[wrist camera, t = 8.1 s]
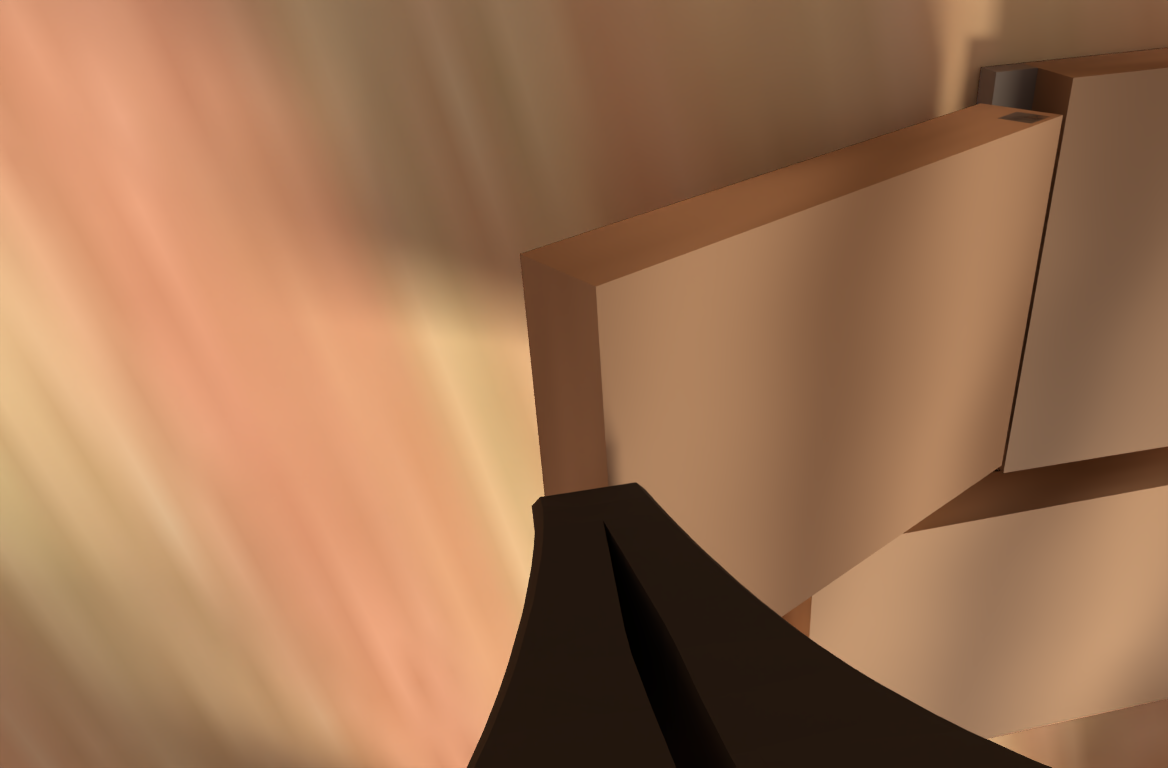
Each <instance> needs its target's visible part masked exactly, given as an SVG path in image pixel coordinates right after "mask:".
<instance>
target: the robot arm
mask: <svg viewBox="0 0 1168 768" xmlns="http://www.w3.org/2000/svg"><path fill="white" fill-rule="evenodd" d="M532 512H533V521H534V530H535V538H534V550H533V559H532V567H531V573H530V578H529V583H528V588H527V593H526V599H525V604H524V609H523V613H522V617H521V621H520V624H519V628H518V631H517V635H516V638H515V642H514V645H513V649H512V652H511V656H510V659H509V663H508V666H507V669H506V672H505V675H504V678H503V681H502V684H501V687H500V690H499V692H498V695H497V698H496V700H495V703H494V706H493V708H492V711H491V713H490V716H489V718H488V721H487V723H486V726H485V728H484V731H483V733H482V735H481V738H480V740H479V742H478V744H477V746H476V749H475V751H474V753H473V755H472V758H471V760H470V762H469V764H468V766H467V768H1052V767H1049V766H1046V765H1044V764H1041V763H1039V762H1036V761H1034V760H1032V759H1029V758H1027V757H1025V756H1022V755H1020V754H1018V753H1016V752H1014V751H1011V750H1009V749H1007V748H1005V747H1003V746H1001V745H998V744H996V743H994V742H992V741H990V740H987V739H985V738H983V737H981V736H979V735H977V734H974V733H972V732H970V731H968V730H966V729H964V728H962V727H960V726H958V725H956V724H954V723H952V722H950V721H948V720H946V719H944V718H942V717H940V716H938V715H936V714H934V713H932V712H930V711H928V710H927V709H925V708H923V707H921V706H919V705H918V704H916V703H914V702H912V701H910V700H909V699H907V698H905V697H903V696H901V695H900V694H898V693H896V692H894V691H892V690H890V689H889V688H887V687H885V686H883V685H881V684H880V683H878V682H876V681H875V680H873V679H871V678H870V677H868V676H866V675H865V674H863V673H861V672H860V671H858V670H856V669H855V668H853V667H852V666H850V665H848V664H847V663H845V662H844V661H842V660H841V659H839V658H838V657H836V656H835V655H833V654H832V653H830V652H829V651H827V650H826V649H824V648H823V647H821V646H820V645H818V644H817V643H816V642H814V641H813V640H811V639H810V638H809V637H807V636H806V635H805V634H803V633H802V632H800V631H799V630H798V629H796V628H795V627H794V626H793V625H791V624H790V623H789V622H787V621H786V620H785V619H783V618H782V617H781V616H780V615H778V614H777V613H776V612H775V611H773V610H772V609H771V608H770V607H768V606H767V605H766V604H765V603H763V602H762V601H761V600H760V599H758V598H757V597H756V596H755V595H754V594H752V593H751V592H750V591H749V590H748V589H747V588H745V587H744V586H743V585H742V584H741V583H739V582H738V581H737V580H736V579H735V578H734V577H733V576H732V575H731V574H729V573H728V572H727V571H726V570H725V569H724V568H723V567H722V566H721V565H720V564H718V563H717V562H716V561H715V560H714V559H713V558H712V557H711V556H710V555H709V554H707V553H706V552H705V551H704V550H703V549H702V548H701V547H700V546H699V545H698V544H697V543H696V542H695V541H694V540H693V539H692V538H691V537H690V536H689V535H688V534H687V533H686V532H685V531H684V530H683V529H682V528H681V527H680V526H679V525H678V524H677V523H676V522H675V521H674V520H673V519H672V518H671V517H670V516H669V515H668V514H667V513H666V511H665V510H664V509H663V508H662V507H661V506H660V505H659V504H658V503H657V502H656V501H655V500H654V498H653V497H652V496H651V495H650V494H649V493H648V492H647V491H646V489H644V488H643V487H642V486H641V485H639V484H638V483H637V482H634V483H627V484H621V485H614V486H608V487H602V488H595V489H589V490H582V491H576V492H569V493H563V494H556V495H550V496H544V497H540V498H539V499H538V500H537V501H536V502H535V503H534V504H533V505H532Z"/></svg>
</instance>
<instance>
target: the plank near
mask: <svg viewBox="0 0 1168 768" xmlns="http://www.w3.org/2000/svg"><path fill="white" fill-rule="evenodd" d="M1062 117H1063V115H1059V114H1052V113H1045V112H1038V111H1031V110H1024V109H1017V108H1010V107H1003V106H996V105H989V104H982V103H980V104H977V105H974V106H971V107H968V108H965V109H962V110H959V111H956V112H953V113H950V114H947V115H943V116H940V117H937V118H934V119H931V120H928V121H925V122H922V123H919V124H916V125H913V126H910V127H907V128H904V129H901V130H898V131H895V132H891V133H888V134H885V135H882V136H879V137H876V138H873V139H870V140H867V141H864V142H861V143H858V144H855V145H852V146H849V147H846V148H843V149H839V150H836V151H833V152H830V153H827V154H824V155H821V156H818V157H815V158H812V159H809V160H806V161H803V162H800V163H797V164H794V165H791V166H788V167H784V168H781V169H778V170H775V171H772V172H769V173H766V174H763V175H760V176H757V177H754V178H751V179H748V180H745V181H742V182H739V183H736V184H732V185H729V186H726V187H723V188H720V189H717V190H714V191H711V192H708V193H705V194H702V195H699V196H696V197H693V198H690V199H687V200H684V201H680V202H677V203H674V204H671V205H668V206H665V207H662V208H659V209H656V210H653V211H650V212H647V213H644V214H641V215H638V216H635V217H632V218H629V219H625V220H622V221H619V222H616V223H613V224H610V225H607V226H604V227H601V228H598V229H595V230H592V231H589V232H586V233H583V234H580V235H577V236H573V237H570V238H567V239H564V240H561V241H558V242H555V243H552V244H549V245H546V246H543V247H540V248H537V249H534V250H531V251H528V252H525V253H521V254H520V259H521V269H522V279H523V288H524V298H525V308H526V318H527V327H528V337H529V347H530V357H531V366H532V376H533V386H534V396H535V406H536V415H537V425H538V435H539V445H540V454H541V464H542V474H543V484H544V493H545V496H550V495H556V494H563V493H569V492H576V491H582V490H589V489H595V488H602V487H608V486H614V485H621V484H627V483H634V482H637V483H638V484H639V485H641V486H642V487H643V488H644V489H646V491H647V492H648V493H649V494H650V495H651V496H652V497H653V498H654V500H655V501H656V502H657V503H658V504H659V505H660V506H661V507H662V508H663V509H664V510H665V511H666V513H667V514H668V515H669V516H670V517H671V518H672V519H673V520H674V521H675V522H676V523H677V524H678V525H679V526H680V527H681V528H682V529H683V530H684V531H685V532H686V533H687V534H688V535H689V536H690V537H691V538H692V539H693V540H694V541H695V542H696V543H697V544H698V545H699V546H700V547H701V548H702V549H703V550H704V551H705V552H706V553H707V554H709V555H710V556H711V557H712V558H713V559H714V560H715V561H716V562H717V563H718V564H720V565H721V566H722V567H723V568H724V569H725V570H726V571H727V572H728V573H729V574H731V575H732V576H733V577H734V578H735V579H736V580H737V581H738V582H739V583H741V584H742V585H743V586H744V587H745V588H747V589H748V590H749V591H750V592H751V593H752V594H754V595H755V596H756V597H757V598H758V599H760V600H761V601H762V602H763V603H765V604H766V605H767V606H768V607H770V608H771V609H772V610H773V611H775V612H776V613H777V614H778V615H780V616H781V617H782V616H784V615H785V614H786V613H788V612H789V611H791V610H792V609H794V608H795V607H797V606H798V605H800V604H801V603H802V602H804V601H805V600H807V599H808V598H810V597H811V596H813V595H814V594H816V593H817V592H818V591H820V590H821V589H823V588H824V587H826V586H827V585H829V584H830V583H832V582H833V581H834V580H836V579H837V578H839V577H840V576H842V575H843V574H845V573H846V572H848V571H849V570H850V569H852V568H853V567H855V566H856V565H858V564H859V563H861V562H862V561H864V560H865V559H866V558H868V557H869V556H871V555H872V554H874V553H875V552H877V551H878V550H879V549H881V548H882V547H884V546H885V545H887V544H888V543H890V542H891V541H893V540H894V539H895V538H897V537H898V536H900V535H901V534H903V533H904V532H906V531H907V530H909V529H910V528H911V527H913V526H914V525H916V524H917V523H919V522H920V521H922V520H923V519H925V518H926V517H927V516H929V515H930V514H932V513H933V512H935V511H936V510H938V509H939V508H941V507H942V506H943V505H945V504H946V503H948V502H949V501H951V500H952V499H954V498H955V497H957V496H958V495H959V494H961V493H962V492H964V491H965V490H967V489H968V488H970V487H971V486H972V485H974V484H975V483H977V482H978V481H980V480H981V479H983V478H984V477H986V476H987V475H988V474H990V473H991V472H993V471H994V470H996V469H997V468H999V467H1000V466H1002V460H1003V454H1004V448H1005V443H1006V437H1007V431H1008V426H1009V420H1010V414H1011V409H1012V403H1013V397H1014V391H1015V386H1016V380H1017V374H1018V369H1019V363H1020V357H1021V351H1022V346H1023V340H1024V334H1025V329H1026V323H1027V317H1028V311H1029V306H1030V300H1031V294H1032V289H1033V283H1034V277H1035V271H1036V266H1037V260H1038V254H1039V249H1040V243H1041V237H1042V232H1043V226H1044V220H1045V214H1046V209H1047V203H1048V197H1049V192H1050V186H1051V180H1052V174H1053V169H1054V163H1055V157H1056V152H1057V146H1058V140H1059V134H1060V129H1061V123H1062Z"/></svg>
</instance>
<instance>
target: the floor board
mask: <svg viewBox="0 0 1168 768" xmlns="http://www.w3.org/2000/svg"><path fill="white" fill-rule="evenodd" d="M980 103H982V104H989V105H996V106H1003V107H1010V108H1017V109H1024V110H1031V111H1038V112H1045V113H1052V114H1059V115H1063V117H1062V123H1061V129H1060V134H1059V140H1058V146H1057V152H1056V157H1055V163H1054V169H1053V174H1052V180H1051V186H1050V192H1049V197H1048V203H1047V209H1046V214H1045V220H1044V226H1043V232H1042V237H1041V243H1040V249H1039V254H1038V260H1037V266H1036V271H1035V277H1034V283H1033V289H1032V294H1031V300H1030V306H1029V311H1028V317H1027V323H1026V329H1025V334H1024V340H1023V346H1022V351H1021V357H1020V363H1019V369H1018V374H1017V380H1016V386H1015V391H1014V397H1013V403H1012V409H1011V414H1010V420H1009V426H1008V431H1007V437H1006V443H1005V448H1004V454H1003V460H1002V466H1000V467H999V469H1000V470H1001V471H1002V472H1003V473H1007V472H1013V471H1019V470H1025V469H1031V468H1038V467H1044V466H1050V465H1056V464H1062V463H1068V462H1074V461H1081V460H1087V459H1093V458H1099V457H1105V456H1111V455H1118V454H1124V453H1130V452H1136V451H1142V450H1148V449H1155V448H1161V447H1167V446H1168V48H1161V49H1151V50H1142V51H1132V52H1123V53H1113V54H1104V55H1094V56H1085V57H1075V58H1066V59H1056V60H1046V61H1037V62H1027V63H1018V64H1008V65H999V66H989V67H981V72H980V80H979V88H978V95H977V103H976V105H977V104H980Z"/></svg>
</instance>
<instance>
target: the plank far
mask: <svg viewBox="0 0 1168 768" xmlns="http://www.w3.org/2000/svg"><path fill="white" fill-rule="evenodd" d="M782 618H783V619H785V620H786V621H787V622H789V623H790V624H791V625H793V626H794V627H795V628H796V629H798V630H799V631H800V632H802V633H803V634H805V635H806V636H807V637H809V638H810V639H811V640H813V641H814V642H816V643H817V644H818V645H820V646H821V647H823V648H824V649H826V650H827V651H829V652H830V653H832V654H833V655H835V656H836V657H838V658H839V659H841V660H842V661H844V662H845V663H847V664H848V665H850V666H852V667H853V668H855V669H856V670H858V671H860V672H861V673H863V674H865V675H866V676H868V677H870V678H871V679H873V680H875V681H876V682H878V683H880V684H881V685H883V686H885V687H887V688H889V689H890V690H892V691H894V692H896V693H898V694H900V695H901V696H903V697H905V698H907V699H909V700H910V701H912V702H914V703H916V704H918V705H919V706H921V707H923V708H925V709H927V710H928V711H930V712H932V713H934V714H936V715H938V716H940V717H942V718H944V719H946V720H948V721H950V722H952V723H954V724H956V725H958V726H960V727H962V728H964V729H966V730H968V731H970V732H972V733H974V734H977V735H979V736H981V737H983V738H985V739H988V738H993V737H997V736H1002V735H1006V734H1011V733H1016V732H1020V731H1025V730H1029V729H1034V728H1038V727H1043V726H1047V725H1052V724H1056V723H1061V722H1066V721H1070V720H1075V719H1079V718H1084V717H1088V716H1093V715H1097V714H1102V713H1107V712H1111V711H1116V710H1120V709H1125V708H1129V707H1134V706H1138V705H1143V704H1148V703H1152V702H1157V701H1161V700H1166V699H1168V446H1167V447H1161V448H1155V449H1148V450H1142V451H1136V452H1130V453H1124V454H1118V455H1111V456H1105V457H1099V458H1093V459H1087V460H1081V461H1074V462H1068V463H1062V464H1056V465H1050V466H1044V467H1038V468H1031V469H1025V470H1019V471H1013V472H1007V473H1003V472H1002V471H996V472H991V473H990V474H988V475H987V476H986V477H984V478H983V479H981V480H980V481H978V482H977V483H975V484H974V485H972V486H971V487H970V488H968V489H967V490H965V491H964V492H962V493H961V494H959V495H958V496H957V497H955V498H954V499H952V500H951V501H949V502H948V503H946V504H945V505H943V506H942V507H941V508H939V509H938V510H936V511H935V512H933V513H932V514H930V515H929V516H927V517H926V518H925V519H923V520H922V521H920V522H919V523H917V524H916V525H914V526H913V527H911V528H910V529H909V530H907V531H906V532H904V533H903V534H901V535H900V536H898V537H897V538H895V539H894V540H893V541H891V542H890V543H888V544H887V545H885V546H884V547H882V548H881V549H879V550H878V551H877V552H875V553H874V554H872V555H871V556H869V557H868V558H866V559H865V560H864V561H862V562H861V563H859V564H858V565H856V566H855V567H853V568H852V569H850V570H849V571H848V572H846V573H845V574H843V575H842V576H840V577H839V578H837V579H836V580H834V581H833V582H832V583H830V584H829V585H827V586H826V587H824V588H823V589H821V590H820V591H818V592H817V593H816V594H814V595H813V596H811V597H810V598H808V599H807V600H805V601H804V602H802V603H801V604H800V605H798V606H797V607H795V608H794V609H792V610H791V611H789V612H788V613H786V614H785V615H784V616H782Z"/></svg>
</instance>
